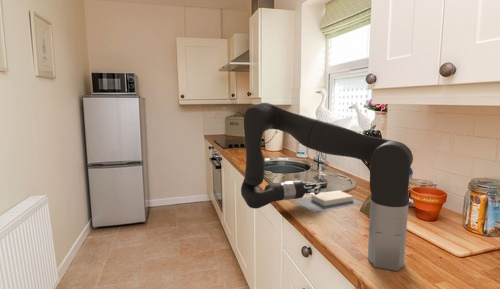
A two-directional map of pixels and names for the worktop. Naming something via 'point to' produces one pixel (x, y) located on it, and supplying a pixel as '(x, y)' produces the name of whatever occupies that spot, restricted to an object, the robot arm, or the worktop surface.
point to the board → (317, 207)
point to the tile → (332, 198)
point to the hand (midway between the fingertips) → (325, 185)
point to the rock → (366, 206)
